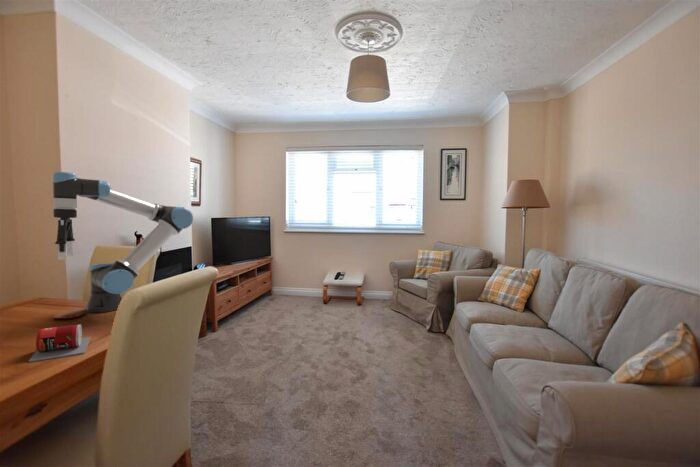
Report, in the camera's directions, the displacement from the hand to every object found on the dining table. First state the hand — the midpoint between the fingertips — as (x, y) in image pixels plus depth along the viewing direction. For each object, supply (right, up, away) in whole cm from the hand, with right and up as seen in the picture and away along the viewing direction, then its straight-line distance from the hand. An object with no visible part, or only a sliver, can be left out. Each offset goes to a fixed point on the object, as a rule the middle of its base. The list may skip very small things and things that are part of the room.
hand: (65, 257), depth 140 cm
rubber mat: (+21, -31, -25) cm, 45 cm away
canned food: (+16, -26, -29) cm, 42 cm away
